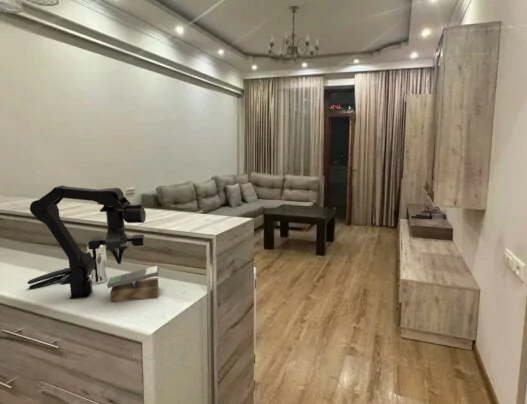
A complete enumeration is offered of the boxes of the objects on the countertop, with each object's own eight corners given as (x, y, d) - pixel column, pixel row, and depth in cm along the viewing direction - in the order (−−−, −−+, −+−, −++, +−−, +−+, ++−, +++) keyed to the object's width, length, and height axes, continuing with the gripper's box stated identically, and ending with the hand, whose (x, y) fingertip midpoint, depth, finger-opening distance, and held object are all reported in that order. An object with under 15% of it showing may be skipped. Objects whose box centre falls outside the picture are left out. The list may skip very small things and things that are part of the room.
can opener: (77, 276, 151) (76, 263, 150) (80, 281, 146) (78, 268, 145) (27, 286, 141) (26, 273, 140) (28, 292, 136) (26, 279, 135)
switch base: (111, 302, 128) (109, 288, 127) (115, 291, 136) (113, 278, 135) (157, 297, 132) (156, 283, 130) (158, 287, 140) (157, 273, 139)
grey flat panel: (108, 290, 128) (106, 284, 127) (111, 282, 134) (110, 277, 134) (159, 277, 131) (157, 271, 131) (159, 270, 138) (158, 265, 137)
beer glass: (101, 284, 142) (97, 249, 139) (86, 283, 144) (82, 248, 141) (112, 277, 149) (108, 243, 146) (97, 276, 150) (93, 242, 147)
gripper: (81, 230, 119) (86, 274, 122) (140, 227, 123) (143, 269, 126) (90, 222, 130) (94, 262, 133) (143, 219, 134) (146, 258, 137)
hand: (119, 263), depth 132 cm, fingers closed
